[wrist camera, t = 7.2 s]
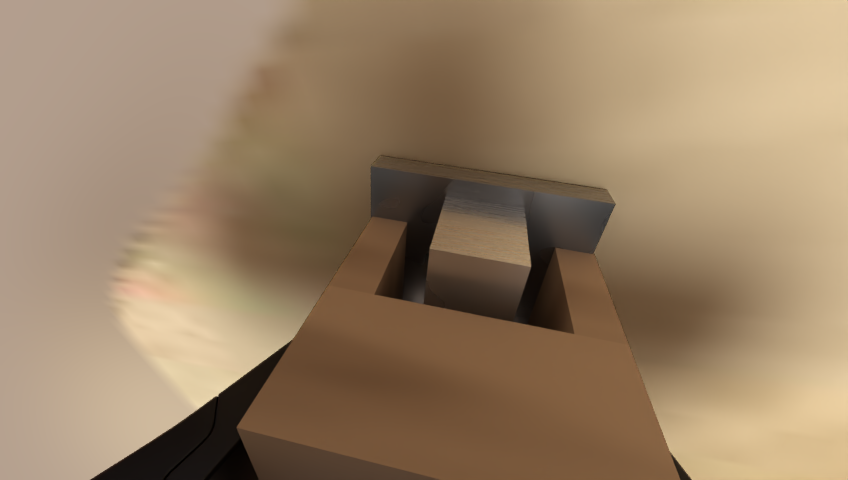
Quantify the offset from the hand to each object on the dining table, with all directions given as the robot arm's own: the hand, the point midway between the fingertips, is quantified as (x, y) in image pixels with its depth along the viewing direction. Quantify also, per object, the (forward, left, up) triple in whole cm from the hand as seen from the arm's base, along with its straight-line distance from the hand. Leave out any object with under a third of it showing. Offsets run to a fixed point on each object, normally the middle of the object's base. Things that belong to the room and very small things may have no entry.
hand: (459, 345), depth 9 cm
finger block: (0, 0, -2) cm, 2 cm away
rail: (-5, 0, -2) cm, 6 cm away
